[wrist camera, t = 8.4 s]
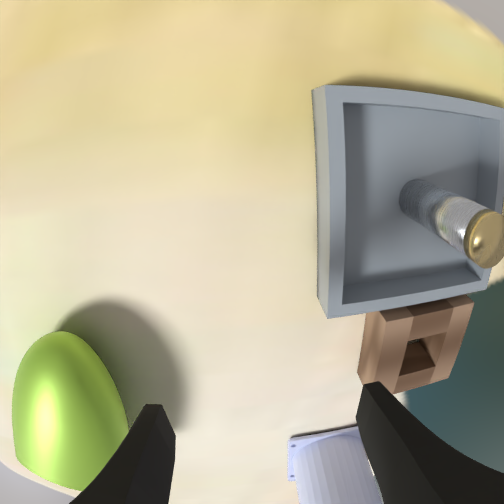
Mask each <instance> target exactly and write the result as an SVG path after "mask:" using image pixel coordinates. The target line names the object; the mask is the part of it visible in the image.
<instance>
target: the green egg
mask: <svg viewBox="0 0 504 504" xmlns="http://www.w3.org/2000/svg"><path fill="white" fill-rule="evenodd" d="M12 426H13V436H14V445H15V451H16V457H17V459H18V461H19V462H20V463H21V464H22V465H23V466H24V467H26V468H27V469H28V470H30V471H31V472H33V473H35V474H36V475H38V476H40V477H42V478H44V479H46V480H48V481H50V482H53V483H55V484H58V485H61V486H64V487H67V488H70V489H74V490H79V491H83V490H84V489H85V488H86V487H87V486H88V485H89V484H90V483H91V482H92V481H93V480H94V478H95V477H96V476H97V475H98V474H99V473H100V471H101V470H102V469H103V468H104V466H105V465H106V464H107V462H108V461H109V460H110V458H111V457H112V456H113V454H114V453H115V452H116V450H117V449H118V447H119V446H120V444H121V443H122V441H123V440H124V438H125V437H126V435H127V434H128V432H129V429H128V423H127V418H126V414H125V410H124V407H123V403H122V401H121V398H120V395H119V393H118V390H117V388H116V386H115V384H114V381H113V379H112V378H111V376H110V374H109V372H108V370H107V368H106V367H105V365H104V364H103V362H102V361H101V359H100V358H99V356H98V355H97V354H96V353H95V351H94V350H93V349H92V348H91V347H90V346H89V345H88V344H87V343H86V342H85V341H84V340H82V339H81V338H80V337H78V336H76V335H74V334H72V333H69V332H64V331H58V332H52V333H49V334H47V335H45V336H43V337H41V338H40V339H38V340H37V341H36V342H35V343H34V344H33V345H32V346H31V347H30V348H29V350H28V351H27V352H26V354H25V355H24V357H23V359H22V361H21V363H20V366H19V368H18V371H17V374H16V378H15V383H14V389H13V397H12Z"/></svg>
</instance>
